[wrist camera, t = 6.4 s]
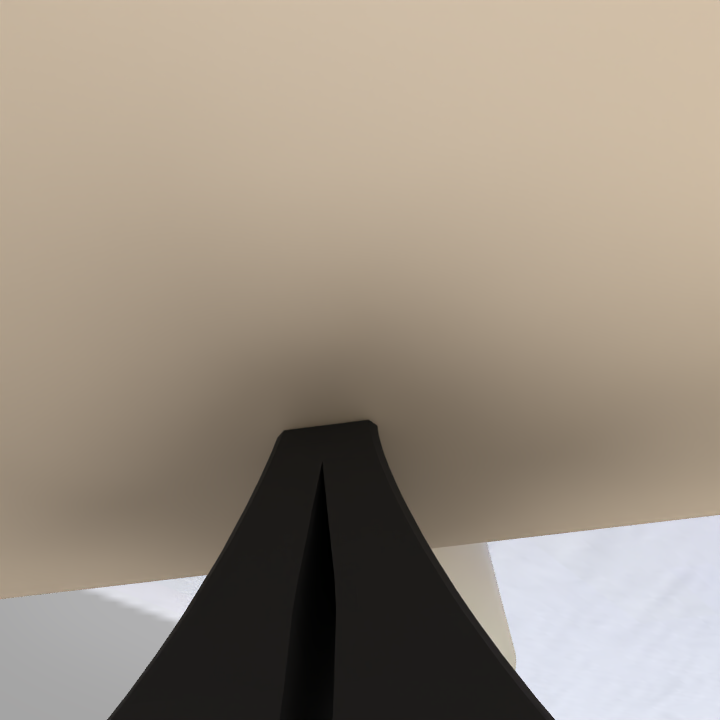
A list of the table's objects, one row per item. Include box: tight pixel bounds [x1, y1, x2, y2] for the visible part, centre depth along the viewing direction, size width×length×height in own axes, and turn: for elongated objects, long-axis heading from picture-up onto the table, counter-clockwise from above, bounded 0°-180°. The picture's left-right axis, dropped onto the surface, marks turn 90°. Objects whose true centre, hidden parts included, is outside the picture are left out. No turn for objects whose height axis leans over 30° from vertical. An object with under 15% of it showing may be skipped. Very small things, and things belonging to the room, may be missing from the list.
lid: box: [0, 0, 720, 599], centre depth 8 cm, size 13×12×1 cm
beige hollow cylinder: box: [431, 542, 516, 670], centre depth 17 cm, size 5×5×5 cm
